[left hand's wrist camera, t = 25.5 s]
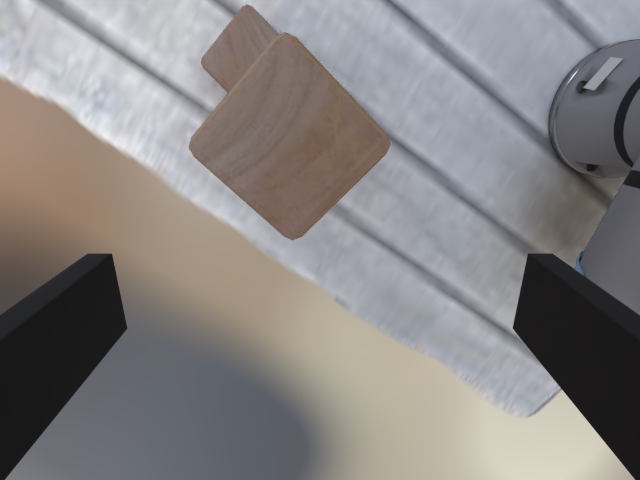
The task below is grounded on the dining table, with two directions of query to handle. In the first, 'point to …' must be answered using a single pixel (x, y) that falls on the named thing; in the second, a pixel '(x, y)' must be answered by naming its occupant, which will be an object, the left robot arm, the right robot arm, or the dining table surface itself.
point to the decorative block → (282, 127)
